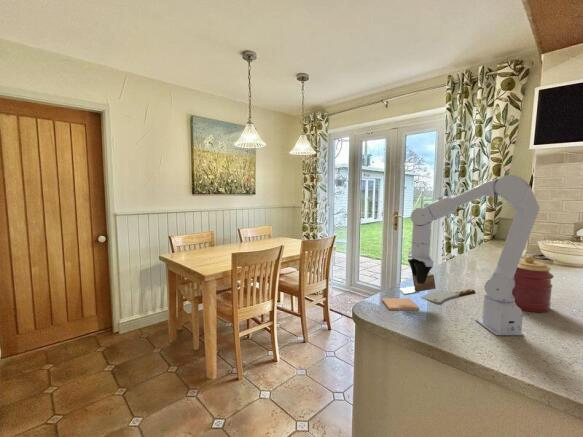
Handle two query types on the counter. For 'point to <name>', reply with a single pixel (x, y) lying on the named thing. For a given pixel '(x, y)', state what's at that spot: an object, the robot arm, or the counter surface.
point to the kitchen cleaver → (445, 295)
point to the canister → (532, 285)
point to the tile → (400, 304)
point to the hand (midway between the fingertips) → (418, 281)
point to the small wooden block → (420, 285)
